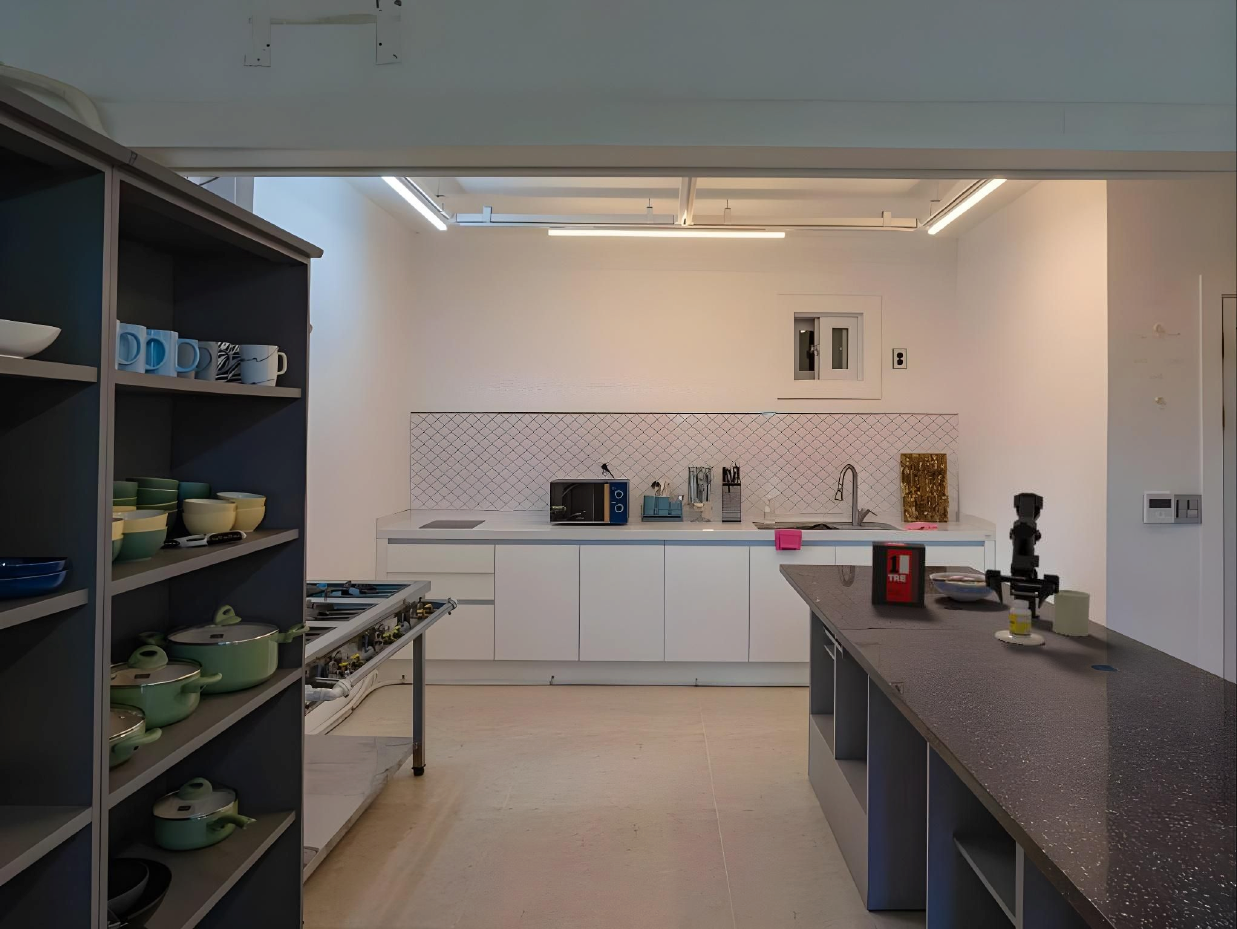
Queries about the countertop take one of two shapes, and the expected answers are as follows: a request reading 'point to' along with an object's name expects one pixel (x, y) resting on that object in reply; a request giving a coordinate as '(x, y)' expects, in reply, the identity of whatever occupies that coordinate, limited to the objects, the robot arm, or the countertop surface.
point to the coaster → (1007, 637)
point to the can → (1071, 613)
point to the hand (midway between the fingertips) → (1020, 606)
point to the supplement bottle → (1020, 619)
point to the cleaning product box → (898, 574)
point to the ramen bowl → (961, 586)
